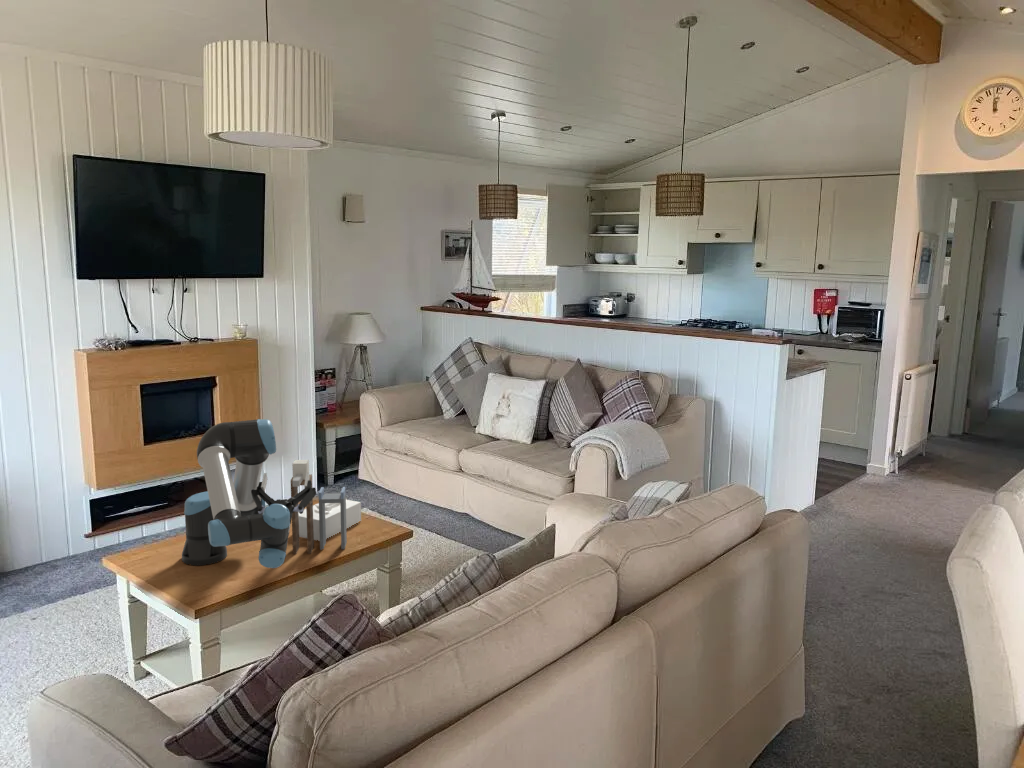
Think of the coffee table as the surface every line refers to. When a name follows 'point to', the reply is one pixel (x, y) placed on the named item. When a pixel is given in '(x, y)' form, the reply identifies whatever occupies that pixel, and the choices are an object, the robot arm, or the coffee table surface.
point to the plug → (299, 471)
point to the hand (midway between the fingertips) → (287, 475)
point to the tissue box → (330, 518)
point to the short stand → (322, 500)
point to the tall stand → (296, 522)
